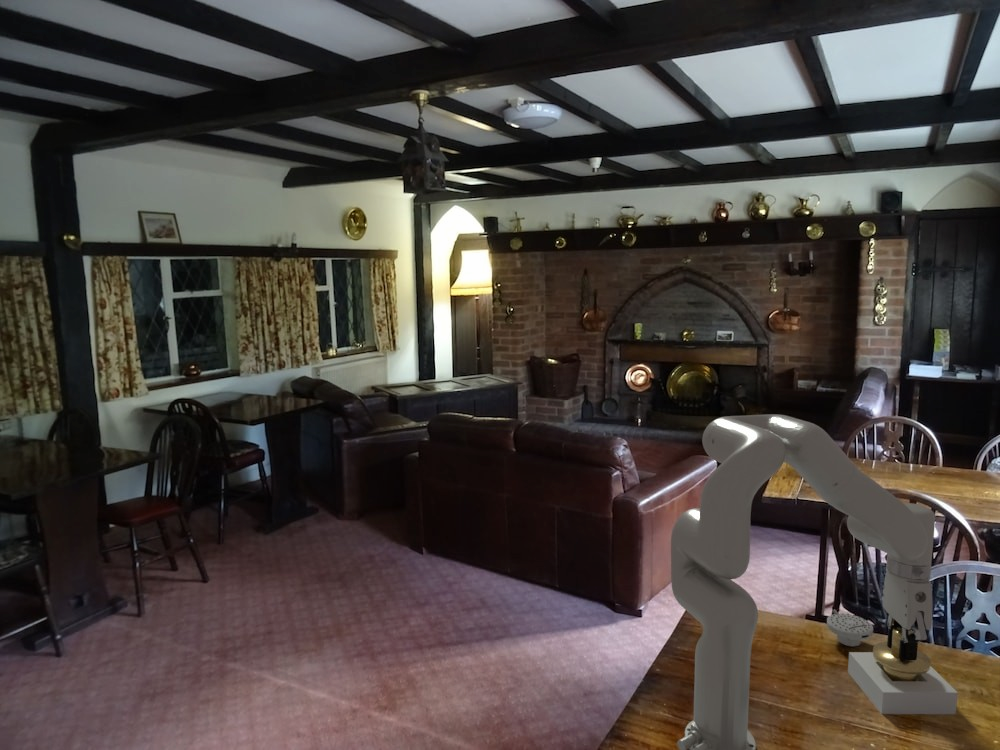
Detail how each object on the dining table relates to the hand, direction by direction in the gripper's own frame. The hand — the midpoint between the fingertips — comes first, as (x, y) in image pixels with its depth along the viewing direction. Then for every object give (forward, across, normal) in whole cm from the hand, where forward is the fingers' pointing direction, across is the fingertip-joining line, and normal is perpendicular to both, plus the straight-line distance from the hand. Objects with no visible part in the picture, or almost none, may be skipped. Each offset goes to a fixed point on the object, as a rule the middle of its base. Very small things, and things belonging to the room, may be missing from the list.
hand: (901, 652), depth 139 cm
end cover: (+6, 0, 0) cm, 6 cm away
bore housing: (+10, 0, 0) cm, 10 cm away
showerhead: (+10, +19, +2) cm, 22 cm away
